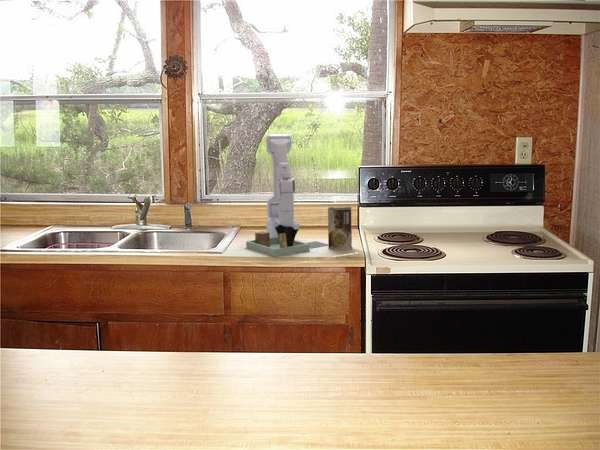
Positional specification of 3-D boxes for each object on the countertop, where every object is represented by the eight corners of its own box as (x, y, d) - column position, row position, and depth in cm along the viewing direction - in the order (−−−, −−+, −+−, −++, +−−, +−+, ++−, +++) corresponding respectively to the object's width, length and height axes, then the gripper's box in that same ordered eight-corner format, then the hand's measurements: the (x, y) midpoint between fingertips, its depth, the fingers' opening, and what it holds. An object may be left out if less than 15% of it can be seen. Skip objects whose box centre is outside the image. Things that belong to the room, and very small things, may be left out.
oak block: (279, 248, 250) (279, 233, 249) (288, 247, 252) (288, 232, 251) (285, 250, 247) (285, 234, 246) (294, 249, 249) (293, 233, 248)
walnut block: (255, 247, 252) (255, 232, 251) (262, 246, 255) (262, 231, 254) (262, 249, 250) (262, 233, 249) (269, 247, 253) (269, 232, 252)
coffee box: (351, 247, 254) (351, 206, 252) (351, 250, 248) (351, 209, 245) (328, 247, 255) (328, 206, 252) (327, 250, 249) (327, 209, 246)
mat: (296, 245, 258) (296, 244, 258) (316, 242, 264) (316, 241, 264) (311, 249, 250) (311, 248, 250) (331, 246, 256) (331, 245, 256)
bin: (246, 249, 253) (246, 241, 252) (280, 243, 262) (280, 236, 261) (274, 258, 237) (274, 249, 236) (309, 252, 246) (309, 244, 245)
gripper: (267, 209, 250) (267, 243, 253) (288, 213, 239) (289, 249, 241) (282, 207, 254) (282, 241, 257) (303, 211, 243) (304, 247, 245)
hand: (286, 245), depth 249 cm, fingers closed on oak block, 4 cm apart
